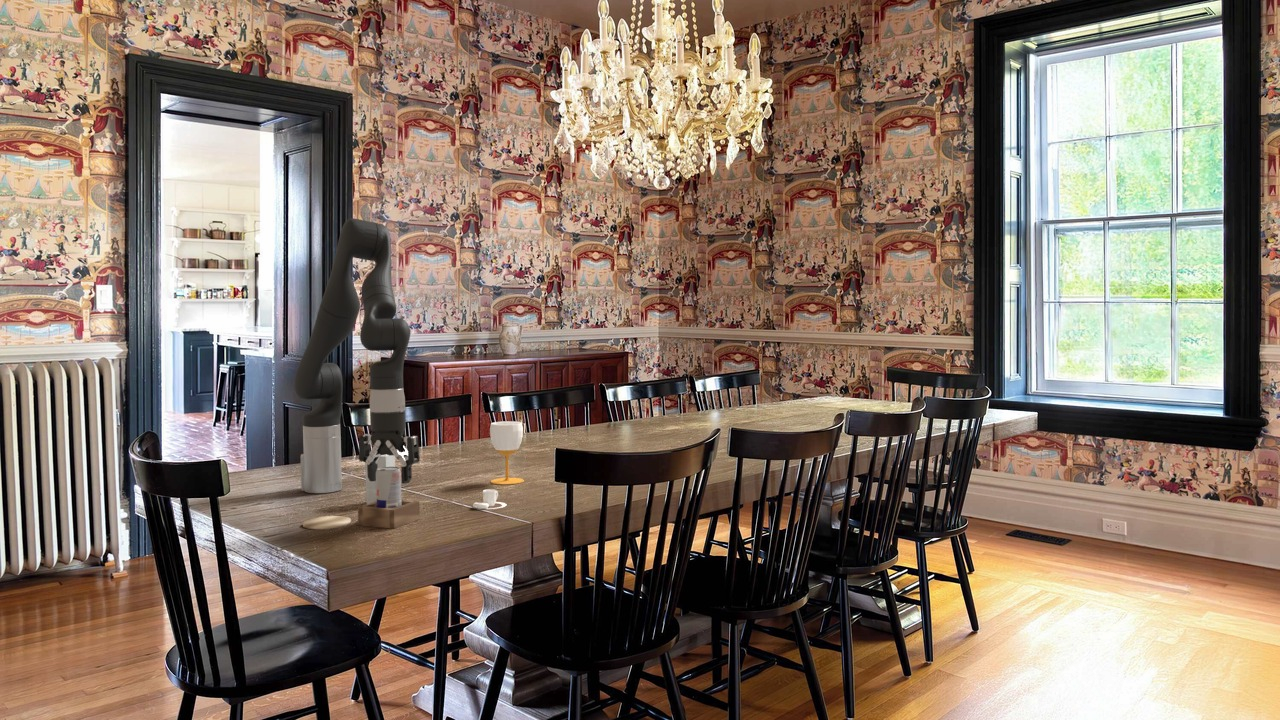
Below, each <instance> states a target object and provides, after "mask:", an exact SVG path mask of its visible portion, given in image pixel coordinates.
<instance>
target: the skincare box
mask: <svg viewBox="0 0 1280 720" xmlns="http://www.w3.org/2000/svg"><path fill="white" fill-rule="evenodd" d="M364 463H365V462H364ZM376 464H377V466H378V468H381V467H396V458H395V456H394V455H392V456H391V455H387V454H386V455H382V456H380V457H379V459H378V461H377V462H376ZM364 466H365V469H364V470H365V471H364V472H365V500H366V504H369V503H372V502H375V501H376V481H369V479H368V473H367V464H366V463H365V465H364Z"/></svg>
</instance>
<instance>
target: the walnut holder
mask: <svg viewBox="0 0 1280 720" xmlns="http://www.w3.org/2000/svg"><path fill="white" fill-rule="evenodd" d="M401 502H402V506H399V507H396V508H393V509H391V508H379V507H377V506H376V501H375V502H372V503H369V504H367V503H366V504H363V505H360V506H357V518H358V519H357V520H358V521H357V522H358V523H357V524H358V526H364V527H375V528H384V529H386V528H387V529H397V528H400V527H402V526H404V525H407V524H410V523H413V522H416V521H418V520H420V517H421V516H420V514H421V512H420V501H419V500H407V499H401Z"/></svg>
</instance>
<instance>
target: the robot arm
mask: <svg viewBox="0 0 1280 720" xmlns="http://www.w3.org/2000/svg"><path fill="white" fill-rule="evenodd" d="M353 258H355V259H358V260H359V259H361V260H363V261H364V260H365V261H371V262H372V261H373V262H374V263H375V266H374V267H373V269H372V270H371V271H370V273H369V274H367V276H366V277H365V278H364V281H363V283H362V285H361V291H360V293H361V294H360V295H361V300H362V305H363V306H362V307H363V320H362V325H361V328H360V334H359V339H360V343H361V344H362V346H363V347H364V349H366V350H368V351H372V352H375V351H376V352H378V351H379V352H380V351H382V352H383V351H392V355H391V356H390V357H389V358H388V359H387V358H386V359H384V360H381V361H376V362H373V363H372V364H371V365H370V366H369V379H370V380H369V382H370V385H369V386H370V390H369V391H370V394H369V419H370V421H369V422H370V424H369V425H370V430H371V434H370V433H365V434H361V435H359V440H358V441H359V442H358V460H359V461H360V462H363V463H366V464H367V473H368V479H369V481H376V471H377V468H378V466H377V464H376V462H377V461H378V459H379V457H380V456H382V455H386V454H387V455H391V456H392V455H394V456H395V460H398V462H399V463H400V464H401V467H400V471H401V484H404V485H405V484H409V483H410V482H411V481H412V478H413V477H412V475H413V473H412V468H413V467H412V466H413V465H415V464H417V463H419V462H420V461H421V460H420V448H419V437H418V435H412V436H406V433H405V431H406V427H407V425H406V422H407V421H406V396H405V392H404V365H405V364H404V363H405V358H406V354H407V350H408V347H409V342H410V339H411V327H410V325H409V323H408V322H407V321H406V320H405V319H403V318H395V316H396V315H397V303H396V299H395V295H394V294H395V293H394V289H393V284H392V241H391V234H390V231H389V228H388V227H387V226H386V225H384V224H381V223H378V222H373V221H368V220H363V219H360V218H353V217H351V218H348V219H347V220H345V222H344V223H343V225H342V228H341V231H340V234H339V238H338V242H337V246H336V251H335V255H334V260H333V265H332V267H331V268H332V269H331V272H330V276H329V279H328V282H327V284H326V287H325V291H324V294H323V295H322V298H321V301H320V305H319V308H318V312H317V313H316V314H317V315H316V320H315V322H314V326H313V329H312V332H311V335H310V337H309V340H308V343H307V346H306V348H305V349H304V352H303V354H302V357H301V359H300V360H299V363H298V366H297V368H296V372H295V375H294V379H293V380H294V381H293V387H294V392H295V395H296V396H297V397H298V398H300V399H301V400H308V401H310V400H311V401H312V400H319V403H318V405H317V406H316V407H315V408H314V409H312V410H310V411H308V412H306V413H304V414H303V416H302V437H303V438H302V439H303V440H302V441H303V443H302V444H303V447H302V449H303V453H301V454H300V479H301V480H300V484H301V485H300V487H301V492H306V493H308V494H326V493H333V492H339V491H341V490H342V489H343V483H342V482H343V481H342V480H343V479H342V478H343V477H342V440H341V439H342V437H341V416H342V413H343V384H344V383H343V374H342V371H341V369H340V367H339V366H338V364H336V363H334V362H326V360H327V358H328V357H329V356H330V354H331V353H332V352H334V350H336V348H337V347H339V346H340V344H342V343H343V342H344V341H345V340H346V339H347V338H348V336H349V335H350V334H351V333H352V332H353V330H354V327H355V325H356V322H357V319H358V316H359V312H360V310H361V303H360V302H361V301H360V298H359V295H358V293H357V289H356V287H355V284H354V281H353V279H352V275H351V270H350V266H351V262H352V259H353ZM371 444H372V445H373V447H372V448H371ZM406 446H407V447H406Z"/></svg>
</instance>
